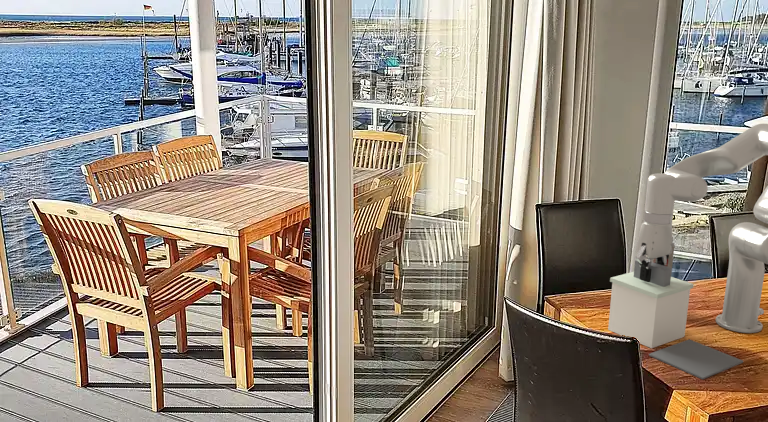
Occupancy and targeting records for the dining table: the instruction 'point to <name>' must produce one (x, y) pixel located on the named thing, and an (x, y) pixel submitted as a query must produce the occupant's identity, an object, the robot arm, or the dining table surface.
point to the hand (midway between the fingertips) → (651, 278)
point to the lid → (652, 281)
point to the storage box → (648, 315)
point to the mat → (696, 358)
